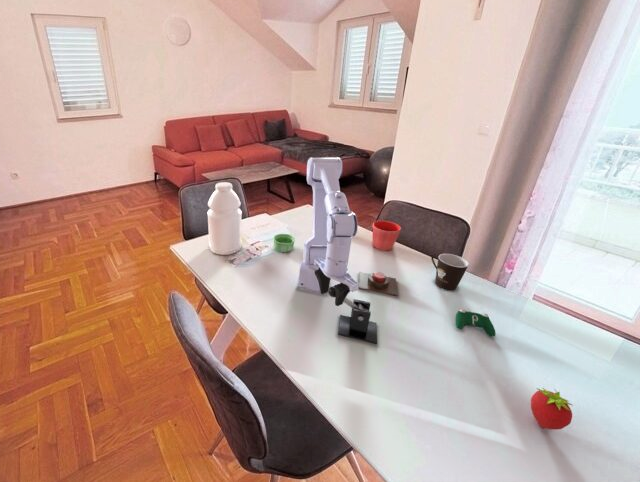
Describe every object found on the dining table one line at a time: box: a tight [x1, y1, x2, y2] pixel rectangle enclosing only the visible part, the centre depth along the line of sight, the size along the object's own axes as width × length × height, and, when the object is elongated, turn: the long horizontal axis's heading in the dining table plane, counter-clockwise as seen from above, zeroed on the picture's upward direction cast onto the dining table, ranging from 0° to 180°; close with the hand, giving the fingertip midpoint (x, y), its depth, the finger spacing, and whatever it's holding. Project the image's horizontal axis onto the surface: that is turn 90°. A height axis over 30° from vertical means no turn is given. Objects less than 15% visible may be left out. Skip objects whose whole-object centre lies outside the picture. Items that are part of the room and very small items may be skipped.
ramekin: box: [272, 233, 296, 253], centre depth 131 cm, size 9×9×4 cm
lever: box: [327, 285, 368, 311], centre depth 86 cm, size 12×3×3 cm
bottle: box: [206, 181, 243, 256], centre depth 128 cm, size 14×14×28 cm
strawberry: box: [530, 387, 573, 431], centre depth 62 cm, size 6×8×10 cm
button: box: [373, 271, 386, 282], centre depth 107 cm, size 4×4×2 cm
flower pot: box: [372, 220, 402, 251], centre depth 132 cm, size 11×11×10 cm
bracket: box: [337, 298, 378, 345], centre depth 87 cm, size 10×8×9 cm
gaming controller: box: [455, 309, 496, 337], centre depth 89 cm, size 9×4×6 cm
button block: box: [358, 271, 399, 297], centre depth 107 cm, size 12×10×3 cm
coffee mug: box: [431, 253, 470, 292], centre depth 108 cm, size 12×9×10 cm
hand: (331, 298), depth 87 cm, fingers open, 5 cm apart
